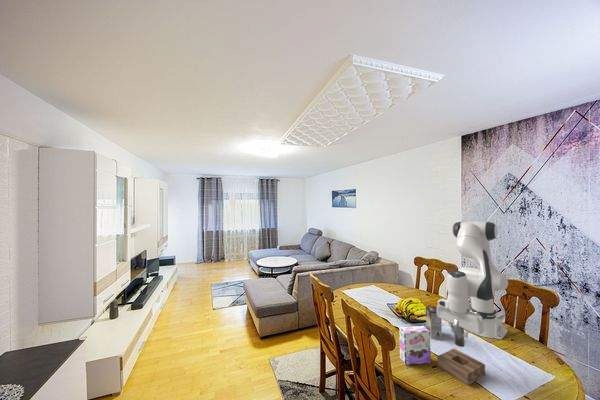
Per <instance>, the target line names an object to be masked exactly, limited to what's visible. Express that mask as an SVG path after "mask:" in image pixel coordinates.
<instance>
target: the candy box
mask: <svg viewBox="0 0 600 400" xmlns="http://www.w3.org/2000/svg"><path fill="white" fill-rule="evenodd" d="M398 329H399V330H398V334H399V336H398V337H399V339H398V340H399V341H398V343H399V359H400V360H401V362H402V363H403V364H404V365H405V366H410V365H426V364H431V363H432V360H431V359H432V357H431V355H432V354H431V352H432V351H431V337H430V331H429V330H428V329H427V328H426V327H425V325H416V326H414V325H413V326H399V327H398Z"/></svg>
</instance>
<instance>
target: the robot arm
mask: <svg viewBox="0 0 600 400" xmlns="http://www.w3.org/2000/svg"><path fill="white" fill-rule="evenodd" d="M452 234H453V236H454V237H455V238H456V241H455V248H456V249H457V251H458V252H459V253H460V254H461V255H463V256H464V257H465V258H468V259H469V261H471V263H472V264H475V265H476V266H477V267H478V268H476V267H471V266H469V267H468V266H464V267H463V266H462V267H460V268H459V269H458V270H451V271H448V273H447V279H446V290H447V297H446V298H441V299H438V300H437V306H436V307H437V316H438V317H439V318H441V320H443V321H446V322H447V323H448V325H449V328H450V332H451V333H453V334H454V319H455V320H458V321H459V327H462V328H464V333H462V335H463V337H464V339H467V338H468V337H469V334H470V333H473V334H475V335H478V336H480V337H483V338H488V339H495V340H503V339H504V337H505V336H506V335H507V334H508V332H509V330H508V329H507V328H505V327H503V326H504V325H503V321H502V319H499V318H498V317H497V316H496V315H497V314H498V312H499V311H498V310H497V309H495V307H494V306H495V305H494V298H495V296H496V295H495V294H496V291H505V290H506V289H507V288H508V286H509V280H508V278H507V276H506V275H505V274H503V272H501V271H499V270H498V268H496V266H495V264H494V262H493V261H492V259H493V258H492V255H491V245H490V244H491V243H490V242H491V241H493V240H495V239H497V236H498V234H499V229H498V227H497V225H496V224H495V223H494V222H489V221H486V222H485V221H478V220H477V221H476V220H475V221H457V222H455V223H453V226H452ZM469 297H470V299H469ZM470 301H471V306H470Z"/></svg>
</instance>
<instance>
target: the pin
mask: <svg viewBox="0 0 600 400" xmlns="http://www.w3.org/2000/svg"><path fill="white" fill-rule="evenodd" d="M453 326H454V333H453V339H454V345H455V346H457V347H460V348H464V347H465V338H464V337H463V335H462V333H464V332H465V329H464V328H462V327H459V321H458V320H455V319H454V324H453Z"/></svg>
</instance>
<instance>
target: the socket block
mask: <svg viewBox="0 0 600 400" xmlns="http://www.w3.org/2000/svg"><path fill="white" fill-rule="evenodd" d="M436 358H437V359H436V360H437V361H436V362H437V363H436V364H437V367H438V368H439V369H441V370H442V371H443V372H445V373H447V374H449V376H452V377H453V378H455V379H457V380H458V381H460V382H461V383H462V384H464V385H466V386H469V385H472V384H473V383H475V382H477V381H478V380H480V379H482V378H483V377H485V376H486V364H485V363H483V362H481V361H479V360H477V359H475V358H474V357H471V356H470V355H468V354H466V353H464V352H462V351H460V350H458V349H456V348H452V349H450V350H448V351H445V352H443V353H441V354H439V355H437V356H436Z"/></svg>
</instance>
